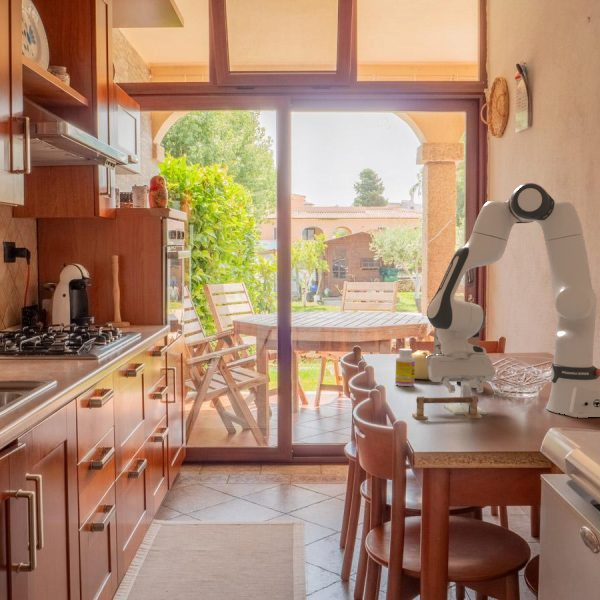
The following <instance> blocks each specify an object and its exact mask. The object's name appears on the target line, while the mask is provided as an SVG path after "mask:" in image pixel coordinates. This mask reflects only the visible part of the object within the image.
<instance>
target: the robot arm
mask: <svg viewBox="0 0 600 600" xmlns="http://www.w3.org/2000/svg"><path fill="white" fill-rule="evenodd" d="M533 222H536V223H538V224H539V225H540V227H541V229H542V234H543V238H544V244H545V249H546V255H547V260H548V265H549V271H550V280H551V290H552V297H553V301H554V302H553V303H554V308H555V311H556V312H557V314H556V324H555V325H556V326H555V335H554V349H553V351H554V353H553V363H552V366H551V371H550V373H551V374H550V375H551V376H550V377H551V389H550V394H549V397H548V401H547V404H546V407H545V409H546V410H548V411H550V412H552V413H556V414H559V413H560V414H561V415H564V414H565V415H566V416H569V417H573V418H577V417H578V419H579V418H581V419H584V418H587V419H588V417H600V378H599V377H600V368H597V367H596V366H594V365H593V363H594V362H593V361H594V345H595V344H594V341H595V330H596V329H595V328H596V327H595V326H596V314H597V313H596V312H597V300H598V299H597V294H596V291H595V290H594V288H593V285H592V278H591V277H592V276H591V271H590V266H589V264H590V263H589V259H588V252H587V247H586V242H585V238H584V237H585V236H584V232H583V228H582V227H583V226H582V223H581V220H580V217H579V214H578V212H577V209H576V207H575V205H574V204H573V203H571V202H570V201H565V200H558V201H555V200H554V198H553V197H552V196H551V195H550V194H549V193H548V192H547V191H546V189H544V187H542V186H541V185H539V184H537V183H534V182H527V183H523V184H521V185H519V186H517V187H516V188H515V190H513V192H512V193H511V196H510V197H509V199H507V200H506V201H500V200H490V201H487V202H485V203H484V204H483V205H482V207H481V209H480V212H479V213H478V215H477V218H476V219H475V221H474V225H473V229H472V230H471V231H472V232H471V234H470V237H469V239H468V241H467V242H466V243H465V245H464V246H462V247H459V248H458V249H457V250H456V251H455V253H454V255H453V256H452V258H451V260H450V263H449V265H448V267H447V269H446V271H445V272H444V276H443V278H442V280H441V282H440V284H439V286H438V288H437V291H436V293H435V295H434V296H433V298H432V299H431V301H430V302H429V304H428V306H427V309H426V317H427V319H428V321H429V322H430V325H431V326H432V327H433V328H434V329H435V328H436V332H437V336H438V340H439V342H440V343H441V352H442V354H436V355H434V353H431V354H430V355H429V356H427V357H426V364H427V365H428V373H429V379H430V380H429V381H431V382H433V383H438V382H439V383H441V382H442V384H443V386H445V388H447V389H448V393H449V394H452V393H453V394H454V393H455V392H456V386H455V385H454V384H451V383H452V382H453V383H454V382H455V383H457V382H461V375H470V376H472V377H474V378H476V379H477V380H478V382H477V388H475V389H476V393H481V394H482V393H483V392H484V386H483V385H484V382H491V381H493V380H494V378H495V376H496V370H495V367H494V364H493V362H492V360H491V358H490V357H489V356H488V355H487V349H486V348H485V347H482V346H480V345H479V346H475V345H472V344H470V343H468V341H467V340H468V338H471V337H473V336H474V335H475V334H477V333H478V332H479V333H480V331H482V330H483V329H484V327H485V324H486V313H485V311H484V308H483V307H482V305H479V304H477V303H474V302H470V301H469V302H468V301H464V300H459V299H456V298H455V295H456V293H457V290H458V289H459V286H460V284H461V282H462V279H463V277H464V275H465V274H466V273H467V272H468V271H469V270H472V269H475V268H478V267H479V268H480V267H486V266H490V265H493V264H495V263H496V262H498V261H499V260H500V259H501V258H502V257H503V255H504V253H505V251H506V248H507V246H508V240H509V236H510V234H511V231H512V228H513V227H514V225H515V224H529V223H533ZM560 414H559V415H560Z"/></svg>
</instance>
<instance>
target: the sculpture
mask: <svg viewBox="0 0 600 600" xmlns="http://www.w3.org/2000/svg"><path fill="white" fill-rule="evenodd" d="M430 354H432V352H431V351H429V350H422V349H420V350H419V349H418V350H416V351H415V352H412V357H414V359H415V374H414V380H429V381H431V380H430V379H429V373H428V365H427V364H426V357H427V356H429V355H430Z"/></svg>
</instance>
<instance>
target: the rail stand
mask: <svg viewBox="0 0 600 600" xmlns="http://www.w3.org/2000/svg"><path fill="white" fill-rule="evenodd" d="M415 401H416V413H413V412H412V414H411V415H412V417H413V419H414V420H428V419H429V415H427V414H426V413H425V412H424V411H425V409H424V408H425V407H424V406H425V404H460V403H470V413H465V414H464V416H466V417H467V418H468V419H482V417H483V414H479V413H477V406H478V403H479V397H478V396H477V395H471V397H459V396H458V397H457V396H455V397H454V396H452V397H451V396H450V397H425V396H421V395H420V396H417V397H416V398H415Z"/></svg>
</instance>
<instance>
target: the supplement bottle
mask: <svg viewBox="0 0 600 600" xmlns="http://www.w3.org/2000/svg"><path fill="white" fill-rule="evenodd" d="M412 353H413V349H412V348H399V349H398V354H399V355H397V357H396V358H395V379H394V380H395V382H394V383H395V385H396V386H397V385H398V386H399V387H403V386H410V387H413V386H414V385H415V379H414V374H415V359H414V357H412ZM398 386H397V387H398Z"/></svg>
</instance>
